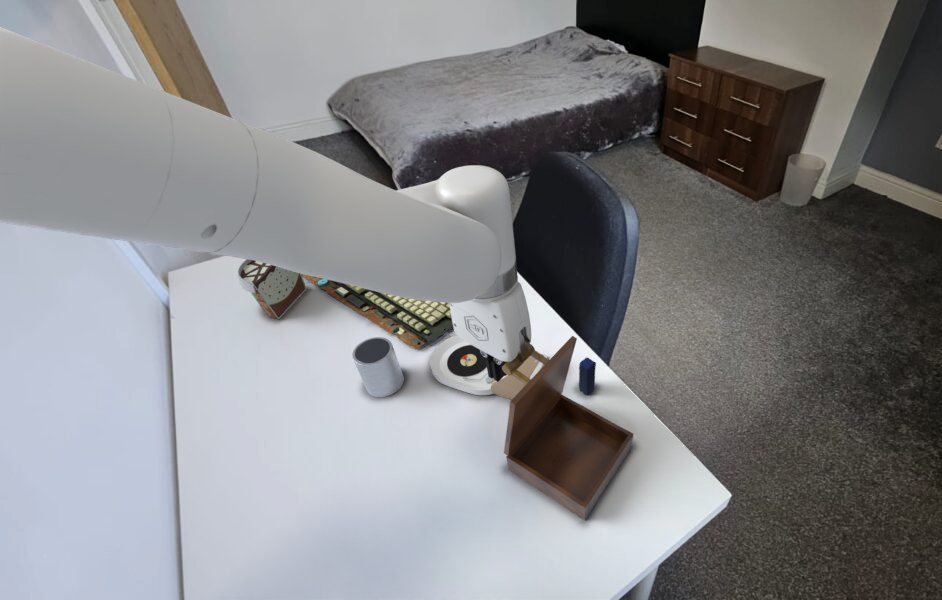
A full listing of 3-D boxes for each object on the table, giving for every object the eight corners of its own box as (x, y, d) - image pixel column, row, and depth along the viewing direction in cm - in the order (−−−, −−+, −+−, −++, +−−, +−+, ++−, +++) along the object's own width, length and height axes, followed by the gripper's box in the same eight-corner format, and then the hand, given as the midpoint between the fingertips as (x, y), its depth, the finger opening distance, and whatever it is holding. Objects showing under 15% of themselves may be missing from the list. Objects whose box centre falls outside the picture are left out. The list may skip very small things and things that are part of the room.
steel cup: (382, 403, 76) (368, 370, 71) (358, 386, 79) (343, 354, 73) (411, 379, 80) (400, 346, 75) (387, 364, 82) (375, 331, 77)
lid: (577, 338, 64) (545, 317, 65) (515, 405, 55) (480, 379, 57) (562, 393, 74) (535, 374, 75) (507, 456, 65) (478, 434, 67)
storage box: (631, 447, 71) (633, 433, 69) (584, 520, 63) (585, 508, 60) (560, 407, 76) (560, 393, 74) (508, 469, 68) (506, 456, 66)
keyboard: (478, 312, 93) (476, 302, 91) (418, 356, 84) (415, 346, 82) (344, 235, 112) (340, 226, 111) (284, 264, 103) (279, 255, 101)
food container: (283, 281, 99) (263, 242, 92) (311, 284, 98) (292, 245, 92) (243, 321, 90) (218, 280, 83) (273, 325, 89) (250, 284, 82)
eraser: (587, 397, 78) (588, 369, 74) (577, 389, 79) (578, 362, 75) (595, 389, 79) (597, 362, 75) (585, 382, 80) (587, 355, 76)
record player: (521, 400, 73) (414, 364, 79) (522, 412, 75) (418, 377, 81) (551, 349, 82) (453, 320, 87) (552, 361, 84) (455, 332, 89)
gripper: (416, 266, 56) (443, 367, 68) (514, 314, 50) (525, 415, 62) (460, 237, 61) (478, 336, 73) (555, 278, 55) (557, 378, 67)
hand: (500, 373), depth 67 cm, fingers closed
